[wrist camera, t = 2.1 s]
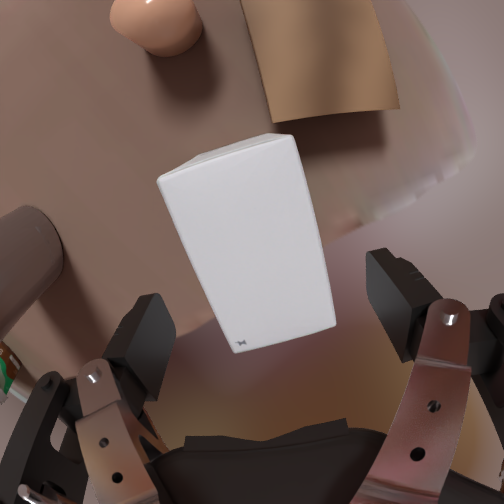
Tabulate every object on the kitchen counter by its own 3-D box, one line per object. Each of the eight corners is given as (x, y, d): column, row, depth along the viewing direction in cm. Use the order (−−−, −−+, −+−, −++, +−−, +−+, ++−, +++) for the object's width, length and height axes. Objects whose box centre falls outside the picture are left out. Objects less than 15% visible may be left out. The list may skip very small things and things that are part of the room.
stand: (268, 124, 19) (273, 123, 16) (234, -6, 14) (231, -28, 11) (376, 110, 19) (400, 109, 15) (341, -13, 14) (356, -33, 10)
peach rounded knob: (147, 65, 17) (114, 48, 12) (138, 19, 15) (107, -6, 9) (208, 45, 16) (193, 18, 11) (196, -1, 14) (180, -36, 9)
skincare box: (306, 249, 24) (340, 329, 14) (235, 269, 25) (229, 357, 15) (273, 129, 20) (297, 131, 10) (193, 155, 20) (147, 181, 11)
